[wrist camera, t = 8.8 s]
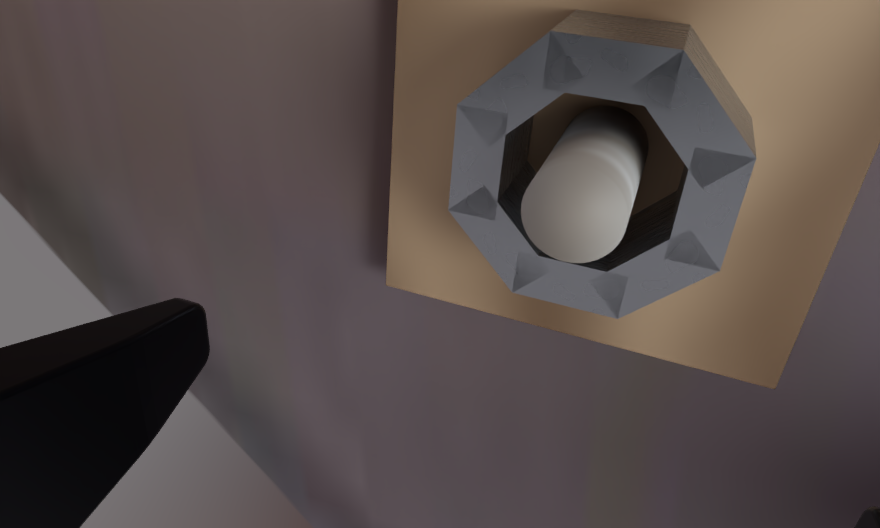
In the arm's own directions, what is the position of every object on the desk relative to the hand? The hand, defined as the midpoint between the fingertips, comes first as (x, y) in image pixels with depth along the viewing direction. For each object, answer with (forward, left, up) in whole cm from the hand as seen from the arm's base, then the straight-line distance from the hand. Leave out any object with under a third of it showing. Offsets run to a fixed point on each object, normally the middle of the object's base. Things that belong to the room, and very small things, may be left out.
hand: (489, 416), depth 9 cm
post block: (0, 0, -12) cm, 12 cm away
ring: (0, 0, -11) cm, 11 cm away
